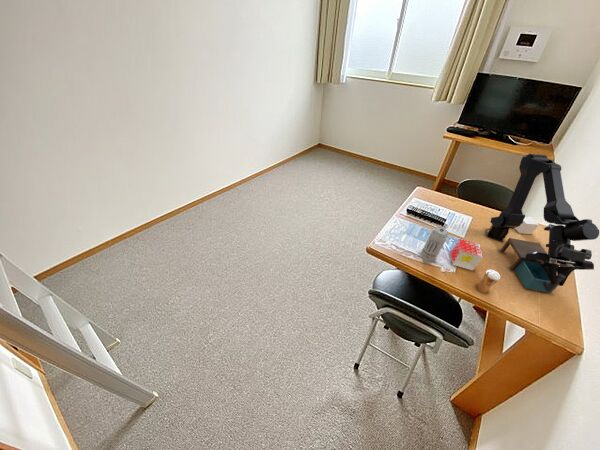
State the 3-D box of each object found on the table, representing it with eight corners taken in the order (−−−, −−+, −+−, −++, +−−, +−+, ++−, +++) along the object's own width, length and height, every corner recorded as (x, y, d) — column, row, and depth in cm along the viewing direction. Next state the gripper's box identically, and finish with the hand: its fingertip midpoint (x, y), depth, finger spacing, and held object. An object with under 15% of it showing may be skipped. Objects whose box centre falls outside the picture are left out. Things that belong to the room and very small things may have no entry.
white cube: (512, 225, 137) (519, 216, 134) (523, 226, 137) (531, 217, 134) (519, 233, 133) (526, 223, 129) (531, 234, 133) (539, 224, 129)
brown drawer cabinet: (499, 250, 121) (509, 237, 116) (528, 255, 120) (539, 243, 115) (510, 270, 112) (521, 257, 107) (542, 276, 111) (554, 263, 106)
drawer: (513, 267, 113) (530, 247, 106) (536, 271, 112) (555, 251, 105) (529, 295, 102) (549, 275, 94) (555, 300, 101) (577, 280, 94)
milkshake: (471, 284, 104) (484, 266, 98) (484, 284, 105) (497, 266, 98) (478, 294, 100) (492, 276, 94) (491, 293, 101) (506, 276, 95)
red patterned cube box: (452, 264, 112) (460, 250, 107) (450, 252, 118) (459, 238, 113) (473, 270, 110) (482, 256, 105) (470, 257, 116) (479, 244, 111)
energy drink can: (416, 257, 113) (430, 230, 104) (422, 250, 117) (436, 223, 107) (430, 265, 110) (446, 238, 101) (436, 258, 114) (451, 231, 104)
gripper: (550, 234, 91) (547, 280, 89) (611, 244, 89) (610, 292, 87) (525, 238, 102) (522, 279, 100) (579, 247, 100) (577, 289, 98)
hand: (557, 285), depth 96 cm, fingers closed on drawer, 2 cm apart
